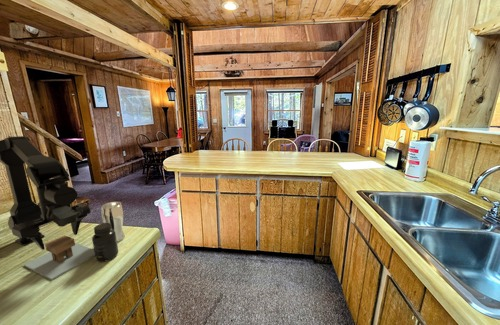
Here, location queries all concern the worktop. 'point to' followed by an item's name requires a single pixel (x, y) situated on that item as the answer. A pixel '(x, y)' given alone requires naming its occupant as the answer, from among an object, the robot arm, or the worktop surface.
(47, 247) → the walnut stool
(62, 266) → the rubber mat
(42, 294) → the worktop surface
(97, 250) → the supplement bottle
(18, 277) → the worktop surface
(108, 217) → the beer glass
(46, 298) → the worktop surface
